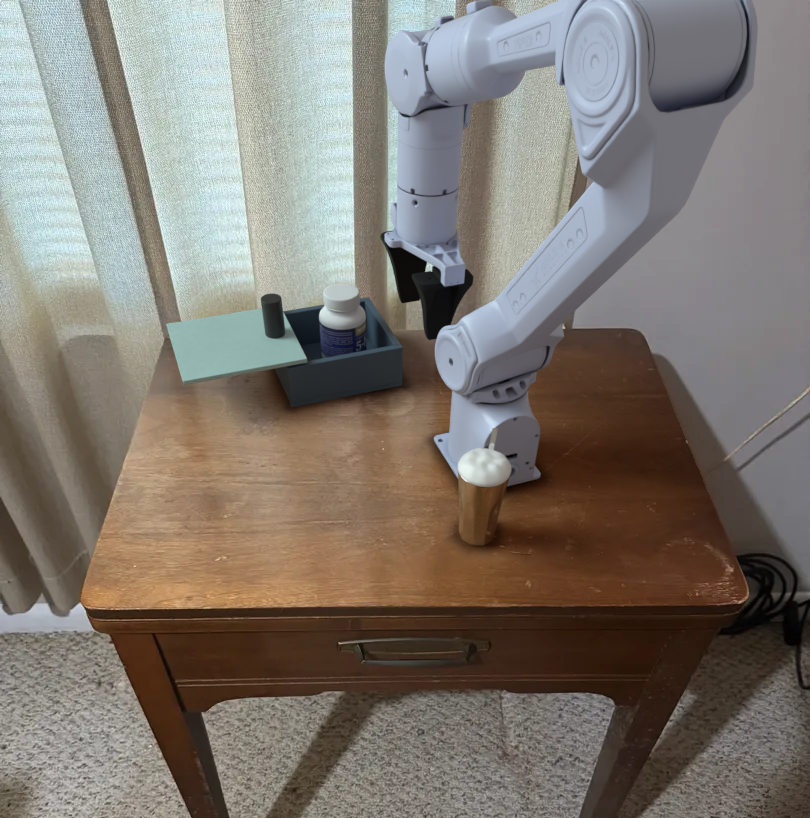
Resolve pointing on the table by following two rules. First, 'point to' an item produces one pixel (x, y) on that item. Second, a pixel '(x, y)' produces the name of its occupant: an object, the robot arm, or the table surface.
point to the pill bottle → (342, 321)
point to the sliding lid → (235, 343)
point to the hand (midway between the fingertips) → (422, 318)
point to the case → (341, 360)
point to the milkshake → (481, 492)
